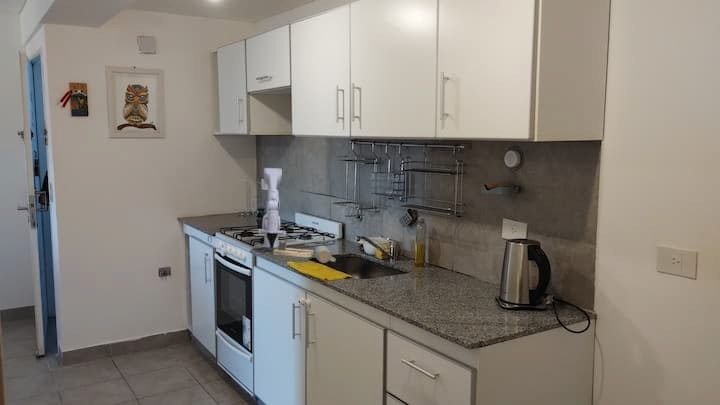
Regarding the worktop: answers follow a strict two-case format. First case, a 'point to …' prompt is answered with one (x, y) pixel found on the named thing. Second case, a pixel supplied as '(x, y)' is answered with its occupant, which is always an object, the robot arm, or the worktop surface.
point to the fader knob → (282, 245)
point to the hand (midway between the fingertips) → (271, 247)
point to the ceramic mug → (323, 254)
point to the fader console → (293, 252)
